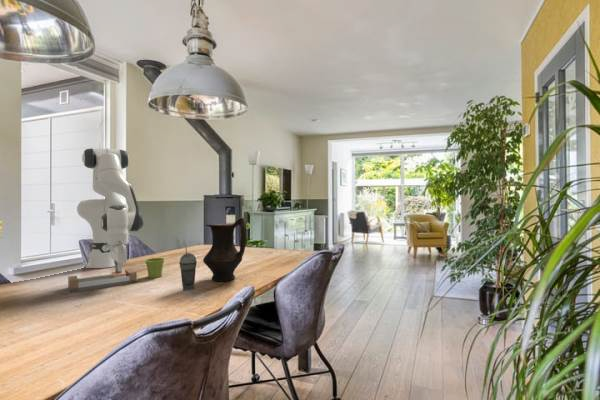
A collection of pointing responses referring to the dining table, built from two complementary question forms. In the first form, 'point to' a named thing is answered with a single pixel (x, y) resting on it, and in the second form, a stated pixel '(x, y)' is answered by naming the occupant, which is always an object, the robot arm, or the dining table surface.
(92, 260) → the robot arm
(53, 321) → the dining table surface
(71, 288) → the track
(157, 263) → the plant pot
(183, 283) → the beverage cup
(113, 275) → the keeper
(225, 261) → the jug
